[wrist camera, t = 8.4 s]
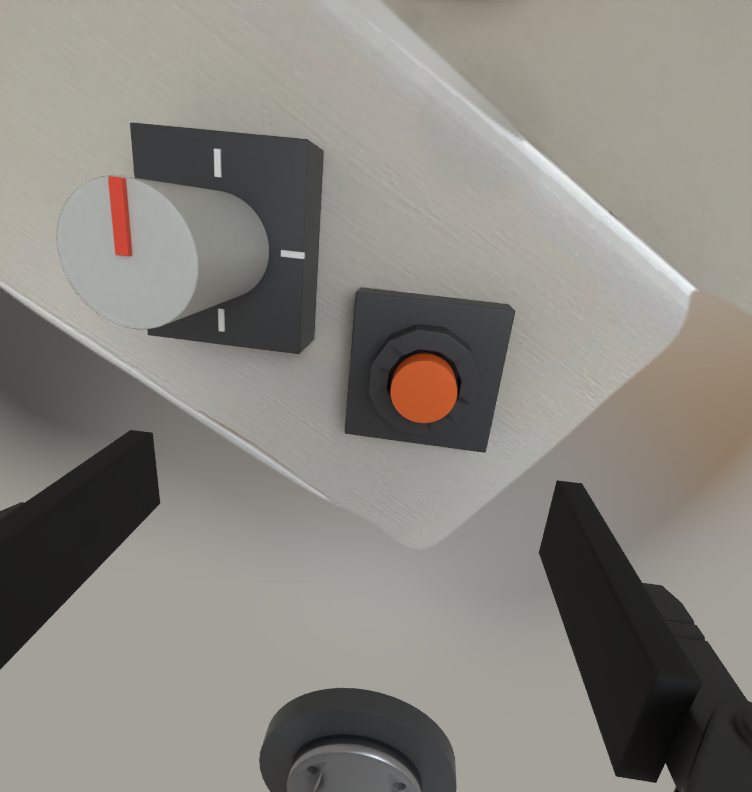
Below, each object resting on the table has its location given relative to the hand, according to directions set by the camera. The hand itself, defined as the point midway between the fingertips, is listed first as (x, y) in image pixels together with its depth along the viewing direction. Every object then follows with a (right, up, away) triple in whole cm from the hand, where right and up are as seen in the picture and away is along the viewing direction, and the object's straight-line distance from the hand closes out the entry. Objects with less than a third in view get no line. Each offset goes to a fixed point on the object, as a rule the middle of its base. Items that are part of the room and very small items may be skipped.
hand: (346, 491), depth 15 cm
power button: (+4, +4, +14) cm, 15 cm away
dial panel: (-8, +13, +16) cm, 22 cm away
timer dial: (-8, +12, +12) cm, 19 cm away
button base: (+4, +5, +18) cm, 19 cm away
